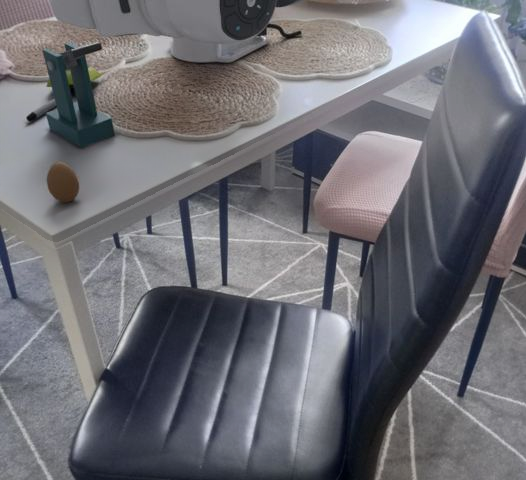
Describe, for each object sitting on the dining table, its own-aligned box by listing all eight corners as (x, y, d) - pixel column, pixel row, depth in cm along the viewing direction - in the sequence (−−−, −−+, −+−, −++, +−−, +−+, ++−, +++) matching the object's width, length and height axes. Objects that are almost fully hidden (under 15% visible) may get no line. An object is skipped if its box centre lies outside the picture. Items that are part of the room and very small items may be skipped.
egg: (72, 210, 87) (62, 173, 83) (46, 205, 88) (35, 168, 84) (88, 195, 90) (79, 158, 86) (62, 190, 91) (52, 153, 87)
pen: (25, 120, 108) (25, 114, 107) (78, 87, 119) (78, 80, 118) (31, 123, 108) (31, 117, 107) (83, 90, 119) (84, 84, 118)
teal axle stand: (114, 134, 104) (99, 51, 95) (80, 148, 101) (60, 63, 91) (83, 117, 109) (65, 36, 100) (49, 129, 106) (27, 46, 96)
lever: (104, 53, 92) (98, 36, 91) (76, 61, 89) (69, 44, 88) (78, 66, 99) (72, 51, 98) (52, 74, 97) (45, 58, 96)
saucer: (58, 68, 121) (61, 79, 122) (42, 76, 114) (45, 87, 115) (99, 64, 120) (101, 75, 121) (86, 71, 113) (88, 83, 114)
